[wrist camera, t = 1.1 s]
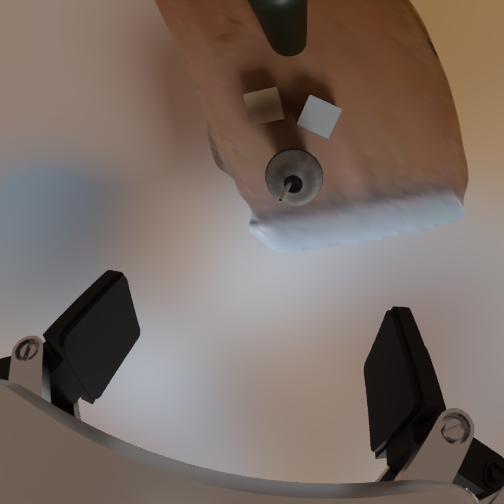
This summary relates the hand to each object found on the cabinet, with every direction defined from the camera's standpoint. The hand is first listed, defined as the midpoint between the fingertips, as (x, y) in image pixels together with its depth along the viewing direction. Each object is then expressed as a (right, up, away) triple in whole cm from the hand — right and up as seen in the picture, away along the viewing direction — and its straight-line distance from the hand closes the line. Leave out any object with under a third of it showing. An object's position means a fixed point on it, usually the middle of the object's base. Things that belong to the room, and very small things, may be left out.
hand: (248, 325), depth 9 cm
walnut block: (+3, +26, +31) cm, 40 cm away
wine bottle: (+6, +36, +25) cm, 44 cm away
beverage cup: (+7, +17, +34) cm, 39 cm away
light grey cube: (+11, +24, +30) cm, 40 cm away
